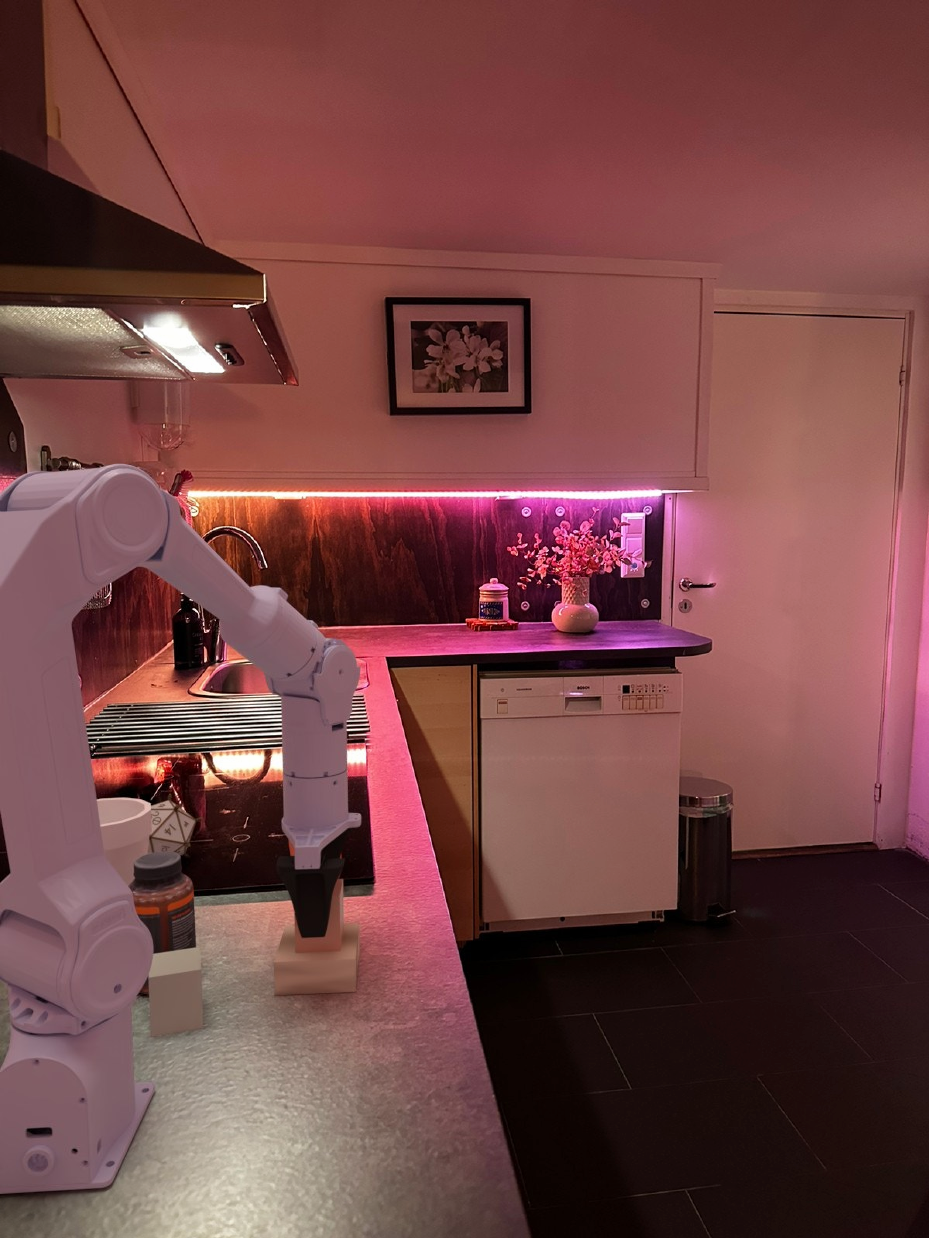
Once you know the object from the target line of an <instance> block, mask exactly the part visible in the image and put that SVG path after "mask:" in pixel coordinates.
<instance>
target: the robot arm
mask: <svg viewBox="0 0 929 1238" xmlns="http://www.w3.org/2000/svg"><path fill="white" fill-rule="evenodd" d="M137 567H141V568H145V569H147V570H149V571H150V572H152V573H153V574H154V575H156V576H157V577H160V578H161V579H162V580H163V581H165V582H166V583H167V584H169V585H170V586H172V587H173V588H175V589H176V590H177V591H179V592H180V593H182V594H183V595H184V596H186V597H187V598H189V599H191V600H192V601H193V602H195V603H196V604H198V606H200V607H202V608H203V609H205V610H206V611H207V612H209V613H210V614H212V615H213V616H215V617H216V618H217V619H219V624H218V625H219V627H218V629H219V634H220V638H221V640H223V642H224V643H225V644H227V645H228V646H229V647H230V648H232V650H234V651H235V652H237V653H238V654H240V655H241V656H242V657H243V658H244V659H245V660H247V661H249V663H251V664H252V665H253V666H255V667H256V668H257V669H259V670H260V671H261V672H262V673H263V674H264V679H265V684H266V685H267V688H268V690H269V692H270V693H271V694H272V695H275V696H278V697H280V704H281V706H280V708H281V709H280V711H281V743H282V744H281V751H282V755H281V756H282V758H281V759H282V785H283V786H282V790H283V791H282V793H283V817H282V818H281V829H282V832H283V833H284V834H285V836H286V838H287V839H288V841H289V840H290V842H291V843H292V845H293V846H294V848H295V856H291V855H282V856H281V855H280V856H278V858H277V861H276V866H275V867H276V873H277V876H278V877H279V879H280V880H281V881H282V883H283V884H284V886H285V888H286V891H287V893H288V895H289V898H290V900H291V903H292V908H293V913H294V912H295V917H296V921H297V925H298V929H299V932H300V935H301V937H302V938H316V937H325V935H326V931H327V927H328V922H329V916H330V908H331V900H332V894H333V890H334V887H335V884H336V882H337V879H338V877H339V878H340V876H341V874H340V873H342V871H343V868H344V865H345V860H346V858H345V857H342V851H343V848H344V845H345V843H346V840H347V839H348V838H347V837H348V836H349V834H350V831H351V829H352V828H359V827H360V826H361V825H362V815H361V813H358V812H349V803H348V802H349V798H348V797H349V795H348V794H349V792H348V791H349V789H348V732H347V731H348V727H347V725H348V724H347V721H348V720H350V718H351V714H352V713H353V698H354V695H355V692H356V690H357V688H358V685H359V683H360V678H361V666H359V665H358V662H357V658H356V656H355V653H354V652H353V650H352V649H351V648H350V647H349V646H348V645H347V643H345V641H343V640H341V639H338V638H327V637H325V636H324V634H323V633H322V632H321V631H320V630H319V626H318V624H317V623H316V622H315V621H314V620H311V619H310V620H309V619H307V618H306V617H304V616H303V615H302V614H301V613H300V612H299V611H298V610H297V609H296V608H294V606H292V604H290V603H289V602H288V601H287V600H288V597H289V595H288V594H287V592H286V591H284V589H282V588H281V587H270V586H268V585H263V584H262V585H261V584H260V585H254V586H249V584H248V583H246V582H245V580H243V579H242V578H241V576H239V575H238V574H237V572H236V571H235V570H234V569H233V568H232V567H231V566H230V565H229V564H228V563H227V562H226V561H225V560H224V559H223V558H222V557H221V556H220V555H219V554H218V553H217V552H216V551H215V550H214V549H213V548H212V547H211V546H210V545H209V544H208V542H206V541H205V539H203V538H202V536H201V535H199V533H197V531H195V529H194V528H193V527H192V526H191V525H190V524H189V523H188V522H187V521H186V520H185V519H184V517H183V516H182V515H181V509H180V503H179V501H178V499H177V498H176V497H175V496H174V495H172V494H171V493H169V492H168V491H166V490H164V489H162V488H160V485H158V483H157V482H156V481H155V480H154V478H152V477H151V476H150V475H149V474H148V473H147V472H145V470H142V469H141V468H139V467H136V466H134V465H130V464H125V463H114V464H110V465H104V466H102V467H95V468H85V469H84V468H83V469H73V470H61V471H49V470H48V471H46V470H36V471H30V472H27V473H24V474H21V476H18V477H17V478H15V479H14V480H13V481H12V482H11V483H10V484H9V485H7V487H5V488H4V489H3V490H2V491H1V492H0V815H1V816H0V817H1V824H2V828H3V835H4V840H5V847H6V851H7V852H6V853H7V859H8V865H9V870H10V871H9V872H10V873H9V874H8V875H6V877H5V878H4V879H3V880H2V881H1V882H0V981H1V983H4V984H6V985H7V1002H8V1003H9V1009H8V1010H9V1019H10V1020H9V1023H10V1036H9V1037H10V1038H9V1045H8V1050H7V1053H6V1055H5V1058H4V1061H3V1063H2V1065H1V1067H0V1194H19V1193H21V1194H22V1193H34V1192H52V1191H53V1192H54V1191H69V1190H70V1191H71V1190H72V1191H73V1190H85V1189H87V1190H88V1189H103V1188H106V1187H108V1186H111V1184H112V1183H113V1182H114V1180H115V1178H116V1176H117V1173H118V1171H119V1169H120V1167H121V1165H122V1162H123V1160H124V1158H125V1156H126V1154H127V1152H128V1149H129V1148H130V1145H131V1143H132V1140H133V1139H134V1136H135V1134H136V1133H137V1130H138V1128H139V1125H140V1123H141V1121H142V1119H143V1117H144V1115H145V1113H146V1111H147V1108H148V1106H149V1104H150V1101H151V1100H152V1098H153V1095H154V1093H155V1091H156V1084H155V1082H153V1081H140V1082H135V1068H134V1067H135V1065H134V1064H135V1062H134V1061H135V1060H134V1042H133V1041H134V1038H133V1035H134V1034H133V1017H132V1016H133V1013H132V1011H133V1009H132V1006H133V1005H134V1004H135V1003H136V1002H137V996H138V994H140V993H139V991H140V990H141V988H142V987H143V985H144V983H145V981H146V979H147V977H148V974H149V972H150V969H151V965H152V960H153V940H152V937H151V933H150V932H149V930H148V928H147V927H146V926H145V925H144V923H143V922H142V921H141V920H140V919H139V917H138V915H137V913H136V910H135V906H134V900H133V893H132V891H131V890H130V888H129V887H128V886H127V884H126V883H125V882H124V880H123V879H122V878H121V876H120V875H119V874H118V873H117V871H116V870H115V869H114V868H113V866H112V865H111V864H110V862H109V861H108V860H107V858H106V856H105V854H104V847H103V840H102V833H101V826H100V819H99V812H98V806H97V799H98V798H97V793H96V785H95V780H94V772H93V766H92V765H93V764H92V757H91V751H90V745H89V738H88V737H89V736H88V732H87V731H88V730H87V723H86V717H85V710H84V709H85V708H84V703H83V696H82V690H81V683H80V675H79V669H78V662H77V656H76V650H75V649H76V648H75V641H74V635H73V629H72V627H73V626H72V625H73V623H72V622H73V621H74V618H75V617H76V616H77V615H78V614H79V613H80V612H81V611H82V609H83V608H84V607H85V606H86V605H87V604H88V602H90V601H91V599H92V598H93V597H95V595H96V594H97V593H98V592H99V591H100V590H101V589H103V588H105V587H106V586H108V585H110V584H112V583H113V582H115V581H116V580H118V579H120V578H121V577H122V576H124V575H126V574H128V573H129V572H130V571H132V570H134V569H135V568H137ZM340 856H341V858H340ZM339 875H340V876H339Z"/></svg>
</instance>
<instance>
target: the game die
mask: <svg viewBox="0 0 929 1238" xmlns="http://www.w3.org/2000/svg"><path fill="white" fill-rule="evenodd" d="M172 798H173V795H172V794H171V793H169V794H168V795H167V800H163V801H160V802H158V803H154V804H152V805H151V825H152V833H150V835H149V845H148V854H149V853H154V852H163V851H170V852H175V853H178V854H179V855H180V857H181V856H183V857H184V856H185V857H186V856H189V857H190V854H189V853H188V852H187V850H188V848H189V847H191V843H190V841H191V839H192V836H193V833H194V830H195V827H196V824H197V822H198V823H199V822H202V820H203V819H204V817H201V816H199V817H197V818H196V817H195V818H194V816H192V815H191V814H190V813H188V812H187V811H185V810H184V809H183V808H182V807H180V805H179V804H176V803H175V802H173V801H172ZM186 852H187V853H186ZM185 857H184V858H185Z"/></svg>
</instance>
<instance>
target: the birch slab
mask: <svg viewBox="0 0 929 1238" xmlns="http://www.w3.org/2000/svg"><path fill="white" fill-rule="evenodd" d="M360 941H361V940H360V923H359V922H350V923H349V922H347V923H346V922H344V933H343V939H342V946H341V951H331V952H305V953H295V924H294V925H293V924H292V925H285V926H284V928H283V932H282V936H281V938H280V941H279V944H278V948H277V950H276V954H275V957H274V961H273V982H274V983H273V985H274V986H273V988H274V990H273V991H274V996H289V995H290V996H292V995H309V994H336V993H337V994H338V993H356V991H357V990H356V989H357V983H358V982H357V981H358V980H357V979H358V971H359V963H360V952H361V951H360V948H361V946H360Z"/></svg>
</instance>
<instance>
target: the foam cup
mask: <svg viewBox="0 0 929 1238" xmlns="http://www.w3.org/2000/svg"><path fill="white" fill-rule="evenodd" d="M96 799H97V806H98V812H99V819H100V826H101V833H102V840H103V847H104V854H105V856H106V858H107V860H108V861H109V862H110V864H111V865H112V866H113V868H114V869H115V870H116V871H117V873H118V874H119V875H120V876H121V878H122V879H123V880H124V882H125V883H126V884H127V886H128V885H129V884H130V883H131V882H133V880H134V879H135V877H134V875H133V874H134V861H135V860H136V859H138V858H139V857H141V856H143V855H146V854H148V845H149V835H150V833H152V825H151V804H152V803H150V802H148V801H146V800H143V799H140V798H134V797H133V798H131V797H111V798H110V797H108V798H99V799H98V798H96Z"/></svg>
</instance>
